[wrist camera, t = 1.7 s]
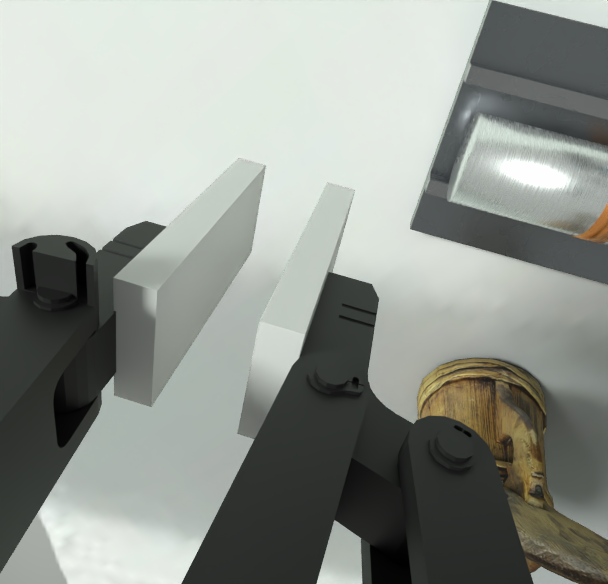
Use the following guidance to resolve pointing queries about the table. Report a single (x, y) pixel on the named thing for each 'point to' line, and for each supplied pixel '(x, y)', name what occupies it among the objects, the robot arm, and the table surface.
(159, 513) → the table surface
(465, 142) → the tube
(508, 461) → the wooden mug
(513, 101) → the dark grey base rail
